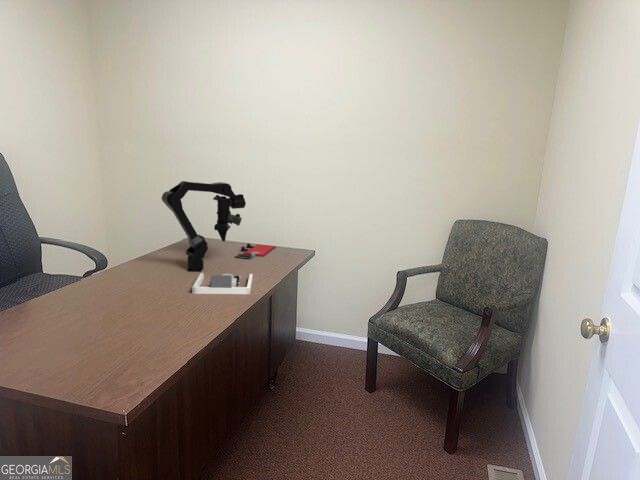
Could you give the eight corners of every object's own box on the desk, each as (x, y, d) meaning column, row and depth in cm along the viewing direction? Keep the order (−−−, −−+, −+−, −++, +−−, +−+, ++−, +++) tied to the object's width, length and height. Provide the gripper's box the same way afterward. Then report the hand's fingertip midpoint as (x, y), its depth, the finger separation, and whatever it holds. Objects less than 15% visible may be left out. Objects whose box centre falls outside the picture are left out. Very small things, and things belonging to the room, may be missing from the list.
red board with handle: (231, 257, 220) (258, 261, 217) (231, 252, 219) (258, 255, 216) (251, 246, 248) (276, 248, 246) (252, 241, 248) (276, 244, 245)
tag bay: (192, 293, 166) (191, 275, 164) (200, 278, 184) (200, 261, 183) (249, 294, 168) (249, 276, 166) (252, 279, 187) (252, 262, 185)
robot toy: (213, 282, 183) (207, 291, 168) (213, 272, 182) (207, 280, 167) (242, 283, 184) (238, 292, 169) (242, 272, 183) (238, 281, 169)
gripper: (239, 213, 191) (238, 246, 195) (242, 207, 209) (242, 237, 213) (214, 212, 190) (214, 245, 193) (219, 206, 208) (219, 237, 212)
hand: (223, 241), depth 203 cm, fingers closed
